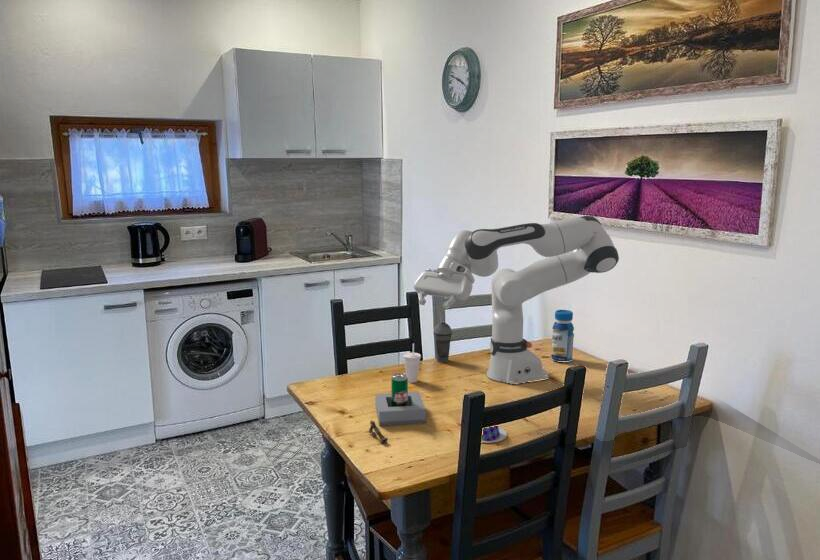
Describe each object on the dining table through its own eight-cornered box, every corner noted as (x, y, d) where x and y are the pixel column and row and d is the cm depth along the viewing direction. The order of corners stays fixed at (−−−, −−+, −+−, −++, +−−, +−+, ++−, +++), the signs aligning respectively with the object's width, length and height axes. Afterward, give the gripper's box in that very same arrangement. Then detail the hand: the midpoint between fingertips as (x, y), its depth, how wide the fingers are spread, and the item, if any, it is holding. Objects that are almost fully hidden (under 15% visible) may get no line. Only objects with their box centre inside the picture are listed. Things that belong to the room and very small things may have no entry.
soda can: (394, 416, 184) (393, 378, 181) (389, 409, 188) (389, 373, 186) (409, 414, 185) (409, 377, 183) (405, 407, 190) (405, 371, 188)
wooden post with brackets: (370, 429, 176) (373, 417, 173) (384, 448, 171) (388, 437, 168) (365, 430, 175) (368, 419, 172) (379, 450, 170) (382, 439, 167)
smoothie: (413, 385, 212) (413, 347, 210) (399, 381, 216) (399, 343, 213) (424, 380, 217) (424, 342, 215) (410, 376, 221) (410, 339, 218)
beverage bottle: (576, 363, 235) (579, 313, 232) (556, 364, 234) (558, 314, 230) (566, 356, 243) (568, 308, 240) (547, 357, 242) (549, 309, 238)
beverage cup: (448, 364, 233) (449, 315, 230) (430, 362, 236) (431, 313, 232) (453, 359, 240) (454, 310, 236) (436, 357, 243) (436, 309, 239)
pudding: (474, 423, 182) (475, 407, 181) (512, 431, 176) (513, 415, 175) (458, 439, 172) (458, 422, 171) (497, 448, 166) (498, 430, 165)
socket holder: (418, 404, 195) (418, 391, 194) (425, 423, 181) (425, 409, 181) (375, 407, 193) (375, 394, 192) (379, 425, 180) (379, 411, 179)
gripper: (420, 263, 205) (403, 296, 199) (472, 269, 193) (455, 304, 187) (428, 274, 209) (411, 306, 203) (479, 281, 197) (463, 315, 191)
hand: (433, 306), depth 195 cm, fingers open, 8 cm apart
